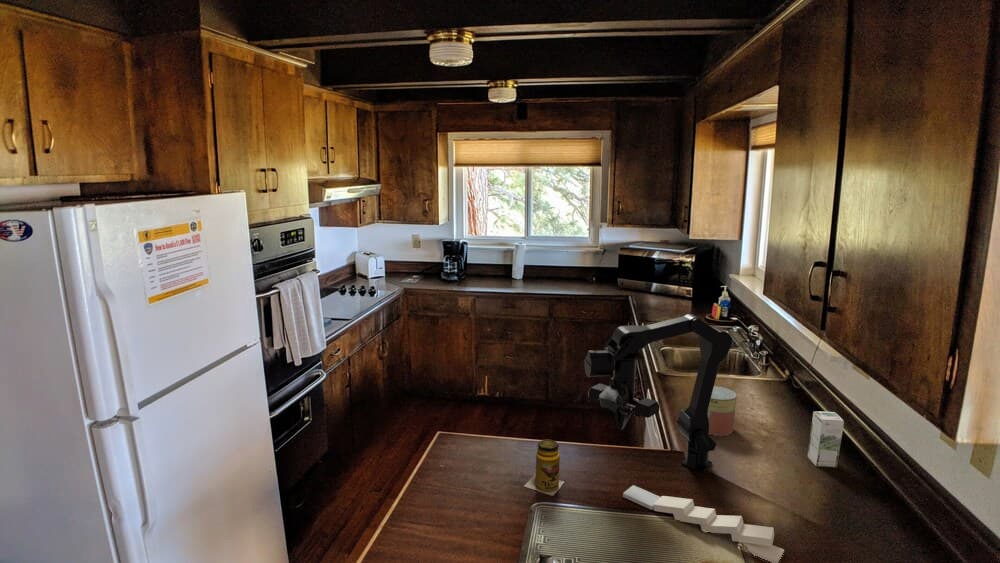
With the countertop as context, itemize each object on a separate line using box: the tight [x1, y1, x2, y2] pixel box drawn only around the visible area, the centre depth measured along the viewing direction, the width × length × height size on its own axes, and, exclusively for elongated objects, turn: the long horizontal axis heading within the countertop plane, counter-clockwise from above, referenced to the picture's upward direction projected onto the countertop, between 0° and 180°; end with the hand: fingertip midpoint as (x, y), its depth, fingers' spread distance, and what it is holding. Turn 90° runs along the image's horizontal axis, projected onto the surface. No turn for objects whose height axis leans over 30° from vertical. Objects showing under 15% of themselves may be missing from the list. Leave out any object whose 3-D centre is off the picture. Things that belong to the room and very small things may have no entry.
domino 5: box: [730, 523, 775, 546], centre depth 123 cm, size 5×2×8 cm
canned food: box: [707, 385, 738, 437], centre depth 178 cm, size 11×11×12 cm
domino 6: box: [737, 542, 785, 563], centre depth 121 cm, size 5×2×8 cm
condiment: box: [523, 438, 565, 497], centre depth 144 cm, size 7×8×12 cm
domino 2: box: [653, 495, 695, 515], centre depth 134 cm, size 5×2×8 cm
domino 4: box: [700, 514, 745, 535], centre depth 127 cm, size 5×2×8 cm
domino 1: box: [622, 484, 662, 511], centre depth 140 cm, size 5×2×8 cm
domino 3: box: [673, 505, 717, 526], centre depth 130 cm, size 5×2×8 cm
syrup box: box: [807, 410, 845, 468], centre depth 157 cm, size 6×6×14 cm
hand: (621, 429), depth 151 cm, fingers closed
